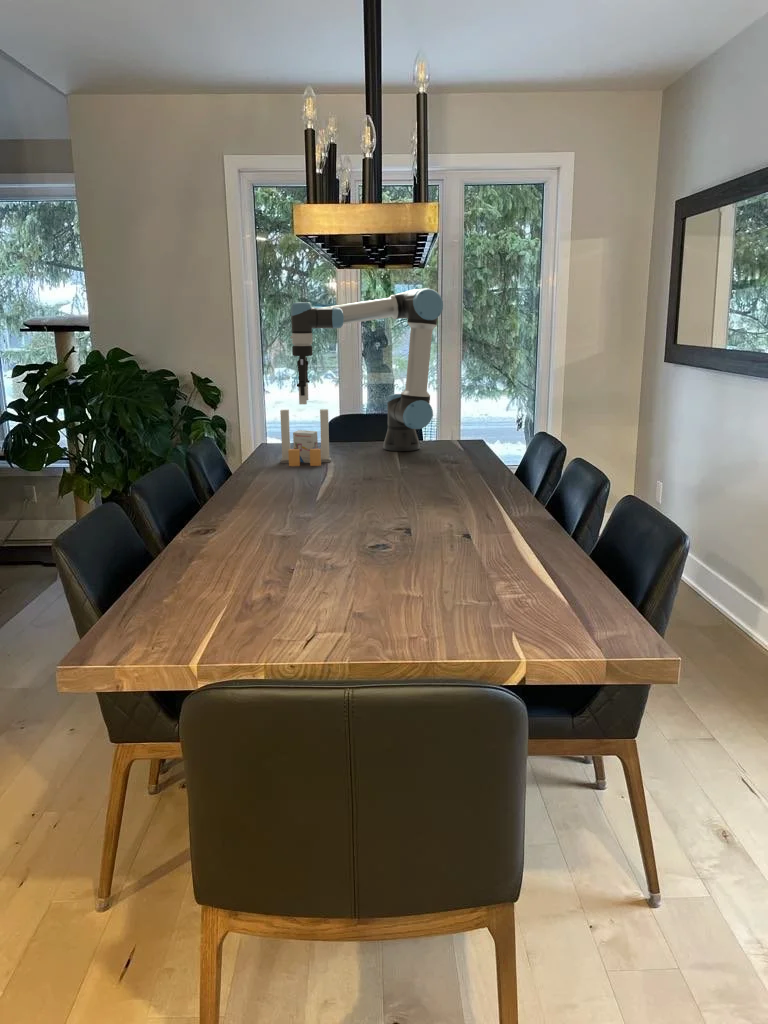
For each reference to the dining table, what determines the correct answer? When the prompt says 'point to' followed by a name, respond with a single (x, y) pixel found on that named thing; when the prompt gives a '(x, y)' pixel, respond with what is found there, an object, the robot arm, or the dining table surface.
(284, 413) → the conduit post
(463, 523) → the dining table surface
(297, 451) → the paddle
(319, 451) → the paddle
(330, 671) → the dining table surface
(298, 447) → the ink box
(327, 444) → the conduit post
